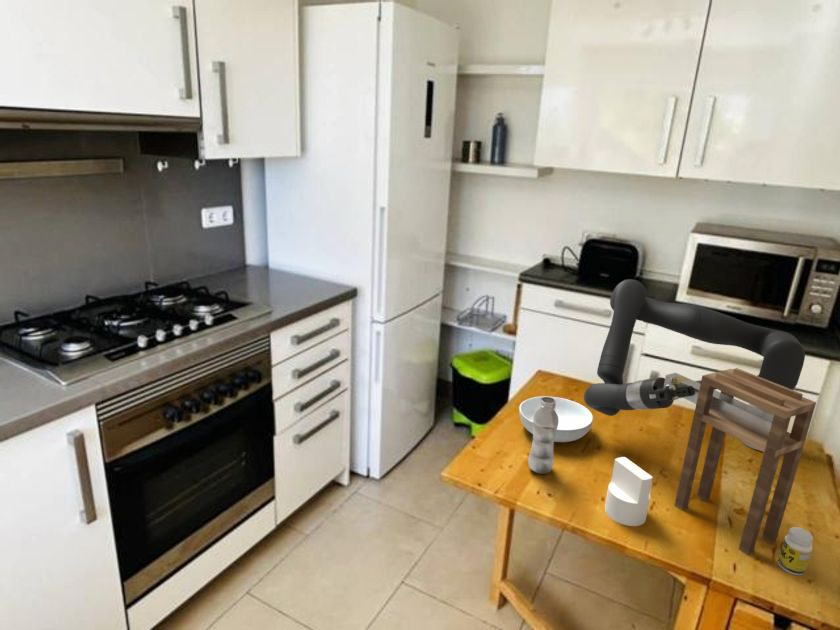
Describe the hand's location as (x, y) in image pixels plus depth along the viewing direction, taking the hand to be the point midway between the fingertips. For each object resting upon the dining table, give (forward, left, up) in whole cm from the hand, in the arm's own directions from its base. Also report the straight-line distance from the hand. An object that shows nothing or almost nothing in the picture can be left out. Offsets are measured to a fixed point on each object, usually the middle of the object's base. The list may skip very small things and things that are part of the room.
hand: (705, 387), depth 125 cm
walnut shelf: (0, +11, -29) cm, 31 cm away
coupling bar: (0, +4, -4) cm, 5 cm away
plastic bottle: (+25, -23, -29) cm, 45 cm away
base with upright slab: (+18, -1, -29) cm, 34 cm away
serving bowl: (+9, -37, -29) cm, 48 cm away
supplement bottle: (0, +26, -29) cm, 39 cm away
